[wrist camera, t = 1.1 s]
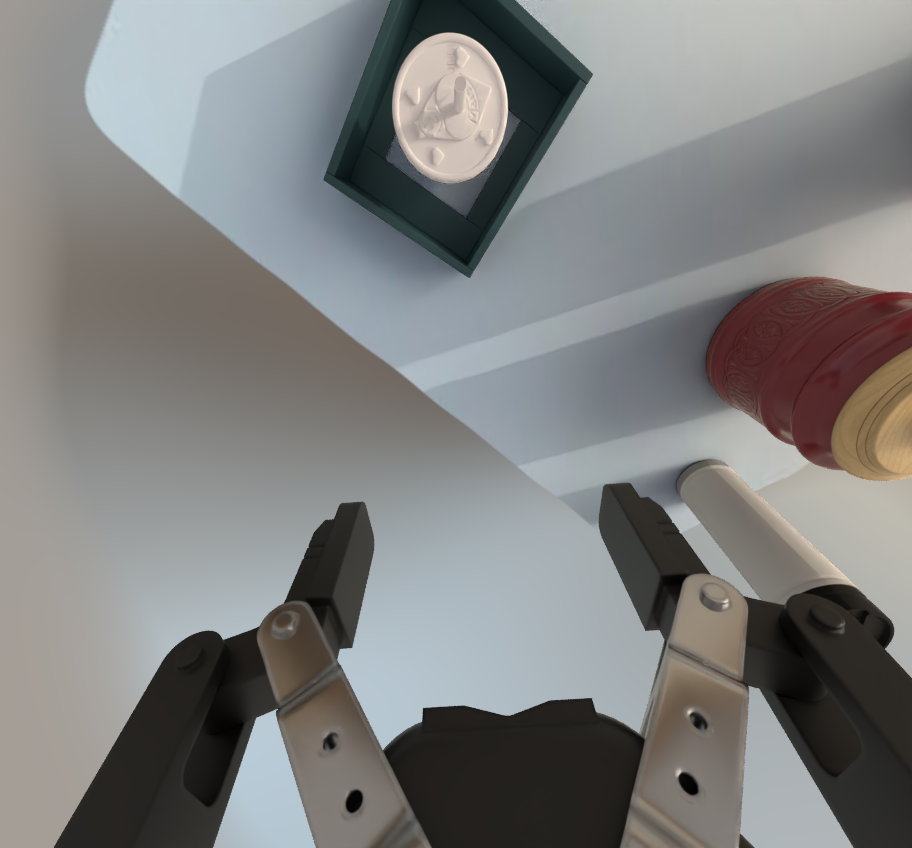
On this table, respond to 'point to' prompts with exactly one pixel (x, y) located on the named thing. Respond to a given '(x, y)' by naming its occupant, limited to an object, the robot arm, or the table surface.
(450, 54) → the smoothie
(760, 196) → the table surface
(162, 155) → the table surface
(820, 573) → the travel mug
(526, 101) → the bin
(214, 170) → the table surface
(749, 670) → the robot arm
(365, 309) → the table surface
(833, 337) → the kitchen canister
